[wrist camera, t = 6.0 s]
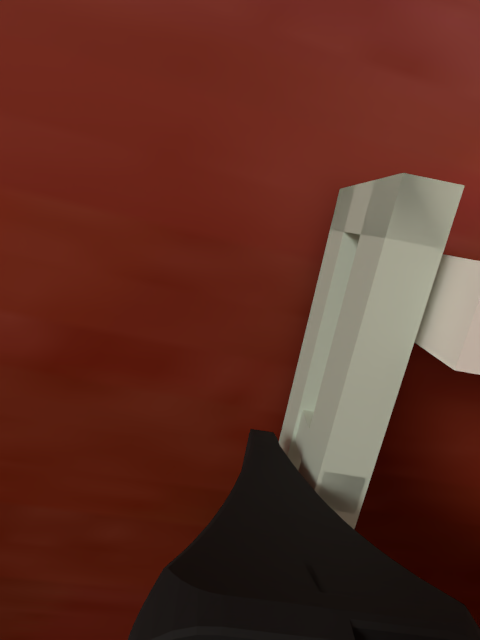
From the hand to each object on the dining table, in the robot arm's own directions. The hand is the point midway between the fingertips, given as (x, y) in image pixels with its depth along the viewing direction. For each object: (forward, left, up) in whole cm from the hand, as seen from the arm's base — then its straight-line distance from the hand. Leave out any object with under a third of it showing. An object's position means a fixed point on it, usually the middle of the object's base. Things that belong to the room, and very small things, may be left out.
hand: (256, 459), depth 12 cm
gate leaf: (+1, -2, -2) cm, 3 cm away
